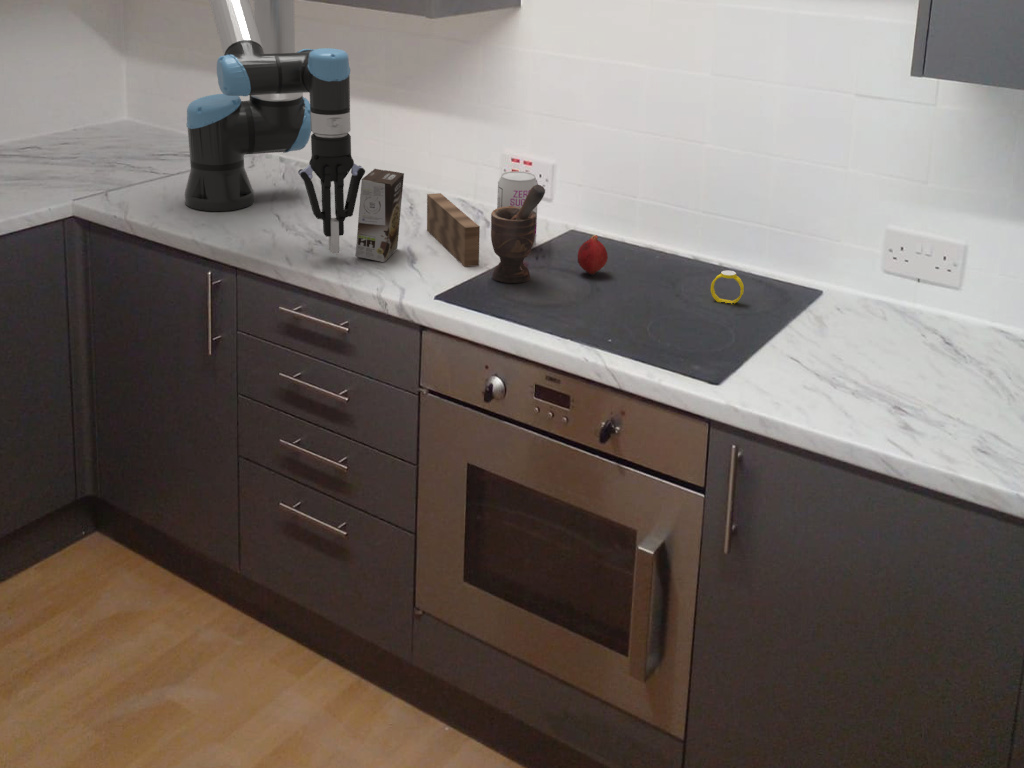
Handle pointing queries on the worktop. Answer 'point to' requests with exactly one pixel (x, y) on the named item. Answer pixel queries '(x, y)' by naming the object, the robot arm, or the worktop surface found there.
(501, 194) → the supplement can
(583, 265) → the onion
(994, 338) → the worktop surface
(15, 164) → the worktop surface
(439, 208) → the wooden board
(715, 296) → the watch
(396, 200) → the coffee box
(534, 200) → the mortar and pestle
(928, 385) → the worktop surface
